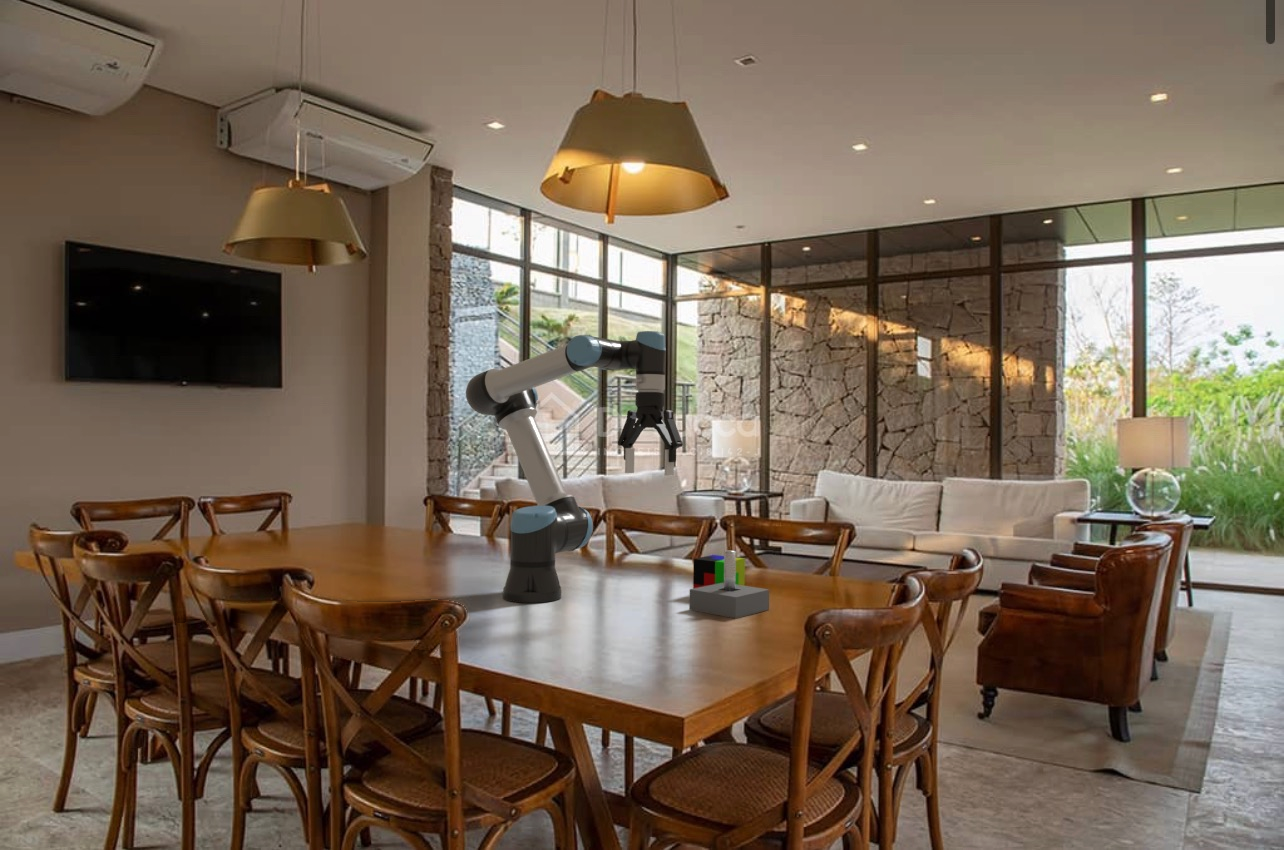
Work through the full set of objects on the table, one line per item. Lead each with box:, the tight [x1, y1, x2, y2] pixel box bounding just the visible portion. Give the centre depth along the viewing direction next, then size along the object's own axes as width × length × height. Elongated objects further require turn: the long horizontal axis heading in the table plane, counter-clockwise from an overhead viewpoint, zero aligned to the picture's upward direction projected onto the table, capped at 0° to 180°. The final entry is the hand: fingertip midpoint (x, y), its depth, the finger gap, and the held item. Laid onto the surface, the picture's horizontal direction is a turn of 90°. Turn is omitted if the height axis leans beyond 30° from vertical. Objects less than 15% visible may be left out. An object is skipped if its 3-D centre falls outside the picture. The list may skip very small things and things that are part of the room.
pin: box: [723, 549, 737, 592], centre depth 214 cm, size 3×3×13 cm
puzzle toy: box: [692, 554, 746, 589], centre depth 232 cm, size 10×10×10 cm
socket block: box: [689, 583, 770, 619], centre depth 214 cm, size 14×14×5 cm
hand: (648, 474), depth 223 cm, fingers open, 13 cm apart
